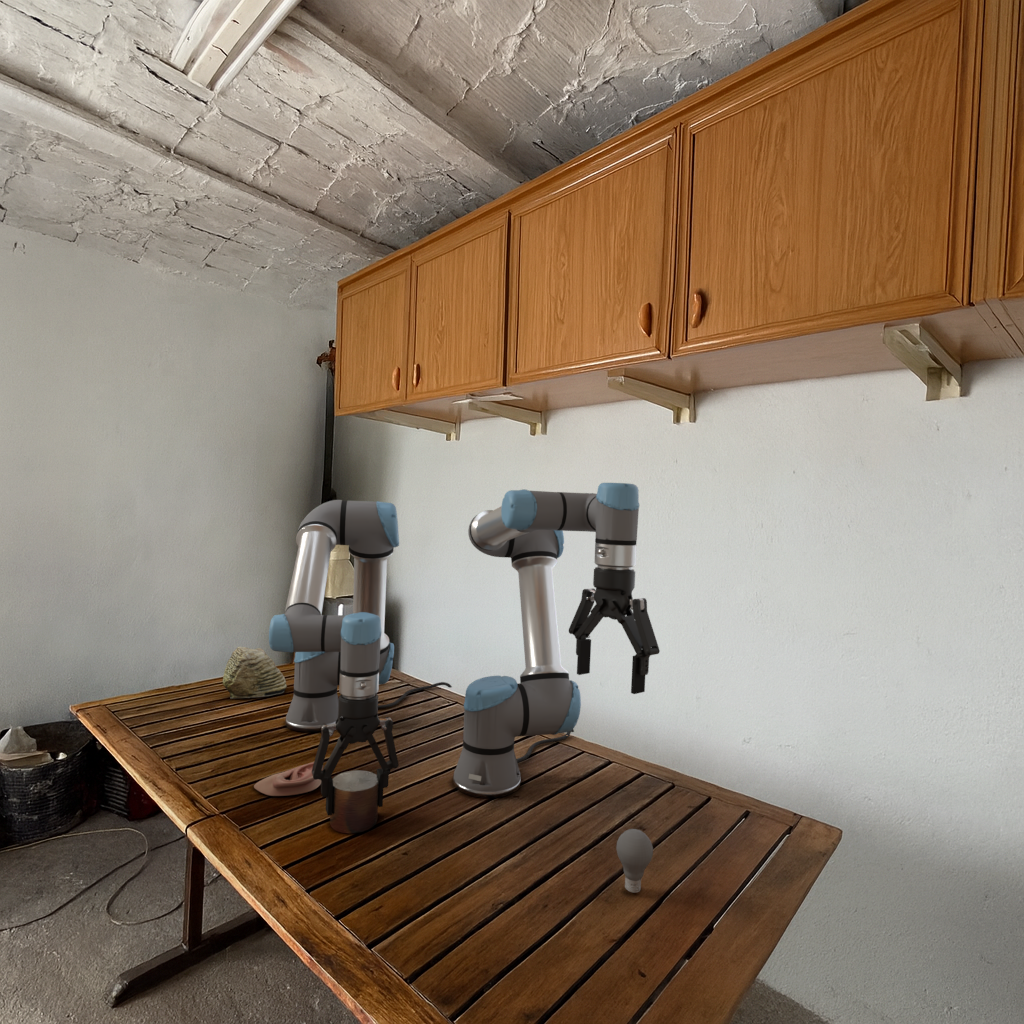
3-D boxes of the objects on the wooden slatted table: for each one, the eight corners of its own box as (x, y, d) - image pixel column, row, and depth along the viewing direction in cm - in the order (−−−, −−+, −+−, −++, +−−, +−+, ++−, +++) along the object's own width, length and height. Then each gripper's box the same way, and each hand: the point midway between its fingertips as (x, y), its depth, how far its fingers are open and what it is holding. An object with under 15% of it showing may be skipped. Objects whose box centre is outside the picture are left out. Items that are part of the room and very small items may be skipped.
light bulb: (610, 879, 108) (613, 822, 108) (644, 879, 109) (647, 822, 109) (619, 902, 102) (622, 840, 102) (655, 901, 103) (658, 840, 103)
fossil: (218, 695, 195) (220, 647, 195) (278, 685, 208) (279, 640, 207) (228, 703, 189) (230, 653, 188) (289, 692, 201) (290, 645, 201)
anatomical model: (246, 773, 134) (276, 753, 145) (245, 792, 134) (276, 770, 145) (303, 782, 131) (330, 760, 142) (302, 801, 131) (329, 777, 142)
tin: (371, 806, 130) (372, 767, 130) (382, 828, 122) (384, 786, 122) (326, 814, 126) (327, 774, 126) (334, 837, 118) (336, 794, 118)
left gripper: (302, 705, 116) (298, 827, 116) (418, 694, 125) (413, 807, 125) (298, 693, 122) (293, 808, 123) (408, 683, 132) (403, 790, 132)
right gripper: (553, 560, 123) (549, 669, 124) (655, 576, 104) (649, 705, 104) (581, 559, 128) (576, 664, 128) (683, 574, 108) (677, 697, 109)
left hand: (354, 807), depth 124 cm, fingers closed on tin, 9 cm apart
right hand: (609, 682), depth 116 cm, fingers open, 13 cm apart
